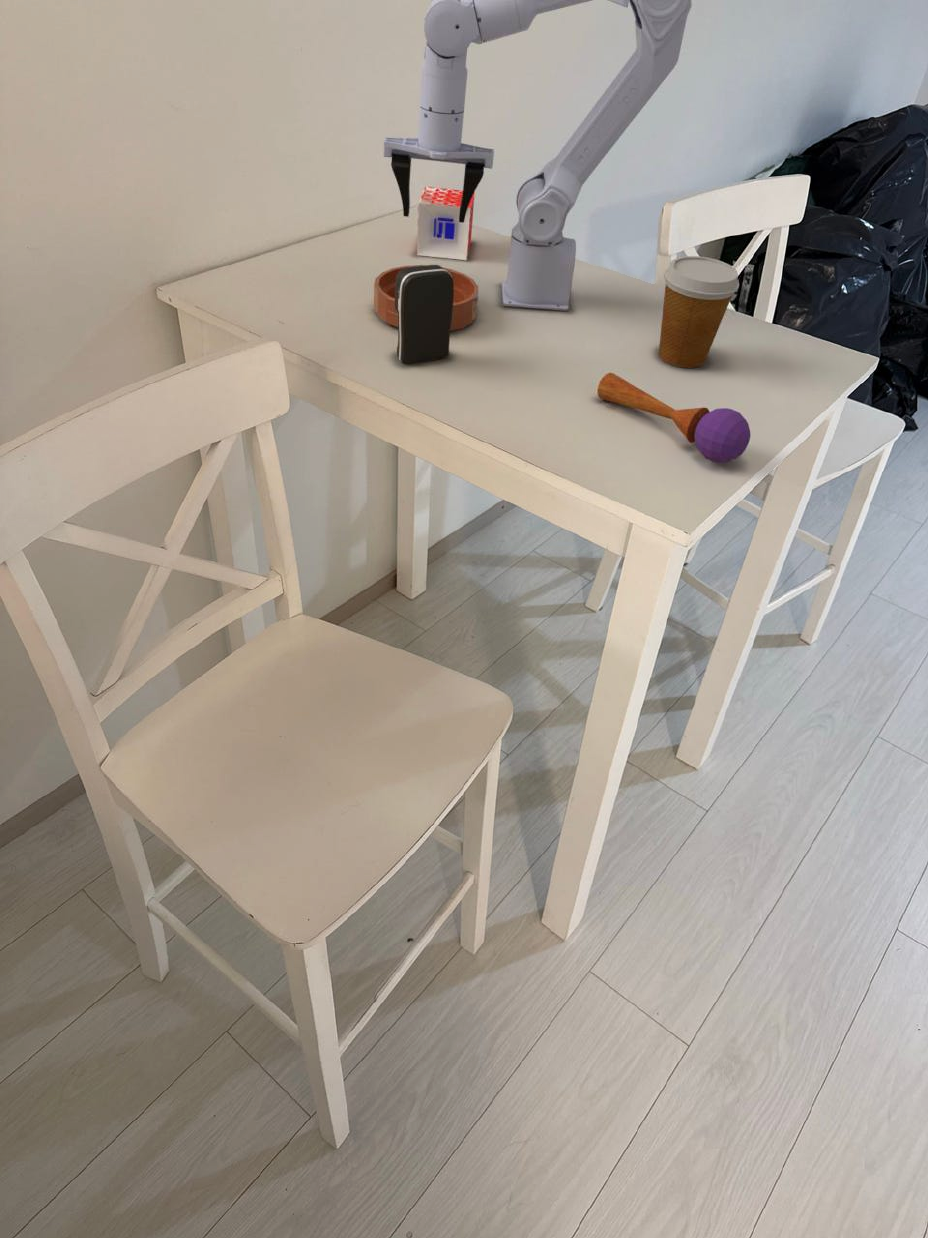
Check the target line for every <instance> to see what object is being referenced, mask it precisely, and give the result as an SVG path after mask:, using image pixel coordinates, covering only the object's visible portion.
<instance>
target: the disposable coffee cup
mask: <svg viewBox="0 0 928 1238" xmlns="http://www.w3.org/2000/svg"><path fill="white" fill-rule="evenodd" d="M738 277H739V273H738V270H737V269H736V268H735V267H733V266H732V265H731V264H729V263H726V262H724V261H722V260H719V259H717V258H711V257H707V256H699V255H685V256H679V257H676V258H675V259H672V260H671V261H670V263H669V265H668V266H667V268H666V269H665V270H664V272H663V278H664V283H665V287H664V297H663V307H662V316H661V326H660V334H659V335H660V337H659V345H658V346H659V347H658V356H659V358H660V359H661V360H662V361H663V362H664V363H666V364H668V365H671V366H674V367H677V368H678V367H679V368H682V369H683V368H684V369H694V368H699V367H701V366H703V365H704V364H705V363H706V360H707V357H708V355H709V352H710V350H711V348H712V346H713V343H714V342H715V338H716V336H717V334H718V332H719V331H718V330H719V329H720V326H721V323H722V321H723V319H724V316H725V314H726V312H727V309H728V307H729V304H730V302H731V299H732V298H733V296H734V295H735V293H736V291H737V290H738V289H739V288H740V282H739V280H738V279H739V278H738Z"/></svg>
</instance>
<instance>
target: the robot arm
mask: <svg viewBox="0 0 928 1238" xmlns="http://www.w3.org/2000/svg"><path fill="white" fill-rule="evenodd" d="M590 1H591V2H592V1H593V0H433V1H431V3H430V4H429V6H428V8H427V11H426V15H425V17H424V24H423V25H424V26H423V33H424V37H425V40H426V43H425V46H424V49H423V59H424V62H423V64H422V68H421V81H420V84H421V85H420V98H419V100H420V101H419V114H418V115H419V116H418V117H419V118H418V133H417V137H388V136H386V137H384V140H383V157H384V158H391V161H390V162H391V163H390V166H391V169H392V173H393V175H394V177H395V180H396V183H397V186H398V190H399V194H400V198H401V203H402V210H403V217H407V218H409V216H410V209H411V208H410V206H411V197H410V196H411V195H410V192H411V191H410V183H411V170H412V169H411V167H412V159H413V160H421V161H423V160H424V161H433V162H442V163H452V164H460V165H464V173H463V175H464V177H463V187H462V191H463V194H462V200H461V206H460V214H459V222H462V223H464V219H465V215H466V211H467V208H468V205H469V203H470V200H471V198H472V196H473V194H474V192H475V193H476V190H477V188H478V187H479V185H480V183H481V181H482V179H483V177H484V175H485V169H491V170H492V169H493V165H494V157H495V149H494V148H488V147H481V146H478V145H472V144H468V143H463V142H462V138H463V128H464V116H465V105H466V94H467V81H468V68H467V57H468V55H467V54H468V48H469V46H470V45H471V44H472V43H474V44H476V45H482V44H485V43H489V42H492V41H495V40H499V39H502V38H505V37H509V36H513V35H516V34H519V33H522V32H525V31H528V30H529V28H530V27H531V25H532V23H533V21H534V19H535V18H536V16H537V15H539V14H540V15H541V14H545V13H549V12H552V11H553V12H554V11H556V10H561V9H564V8H568V7H571V6H575V5H579V4H583V3H584V4H585V3H588V2H590ZM607 1H609V2H611V3H614V4H616V5H618V6H621V7H624V8H628V7H629V4H630V7H631V9H632V12H633V15H634V19H635V20H634V24H635V25H634V28H635V41H636V42H635V43H636V49H635V50H634V52H633V53H632V55H631V56H630V58H628V60H627V61H626V62H625V64H624V65H623V67H622V68H621V69H620V71H618V73H617V75H616V76H615V77H614V79H613V80H612V81H611V83H610V84H609V85H608V86H607V88H606V89H605V91H604V92H603V94H601V96H600V97H599V99H598V100H597V101H596V103H595V104H594V106H592V108H591V109H590V111H589V112H588V113H587V115H586V116H585V118H584V119H583V120H582V122H581V123H580V124H579V126H578V127H577V128H576V130H575V131H574V132H573V134H572V135H571V136H570V138H569V139H568V140H567V142H566V143H565V144H564V146H563V147H562V148H561V150H560V151H559V152H558V154H557V155H556V156H555V157H554V158H552V159H551V160H550V161H548V162H547V163H545V164H544V166H543V167H542V168H541V170H540V171H539V172H538V173H537V174H536V175H534V176H531V177H529V178H528V179H526V180H525V181H523V183H521V185H520V187H519V188H518V190H517V194H516V200H515V201H516V207H517V211H518V221H517V223H516V224H515V225H514V226H513V227H512V229H511V236H510V244H509V254H508V265H507V273H506V274H507V275H506V281H502V283H501V294H502V305H503V306H504V307H510V308H511V307H512V308H514V307H515V308H524V309H525V308H527V309H540V310H553V311H568V310H569V308H570V306H569V304H570V297H571V292H572V287H573V278H574V271H575V265H576V256H577V255H576V254H577V241H576V239H575V238H569V237H565V236H564V234H563V230H564V228H565V224H566V220H567V217H568V215H569V213H570V211H571V210H572V208H573V207H574V205H575V204H576V202H577V199H578V197H579V195H580V192H581V190H582V188H583V185H584V184H585V183H586V181H587V180H588V179H589V177H590V176H591V175H592V174H593V172H594V171H595V170H596V168H597V167H598V166H599V165H600V163H602V161H603V159H604V158H605V157H607V156H606V155H608V153H609V152H610V151H611V149H612V148H613V147H614V146H615V144H616V143H617V142H618V140H619V139H620V138H621V136H623V134H624V133H625V131H626V130H627V129H628V127H629V126H630V125H631V124H632V123H633V121H634V120H635V119H636V117H637V115H638V114H640V112H641V111H642V109H644V107H645V106H646V104H647V103H649V101H650V99H652V97H653V96H654V94H655V93H656V92H657V90H658V89H659V88H660V87H661V85H662V84H663V82H665V80H666V79H667V77H668V76H669V75H670V74H671V72H672V71H673V70H674V69H675V67H676V65H677V64H678V61H679V58H680V53H681V49H682V43H683V39H684V33H685V28H686V24H687V20H688V16H689V13H690V10H691V9H692V5H693V3H692V0H607Z"/></svg>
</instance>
